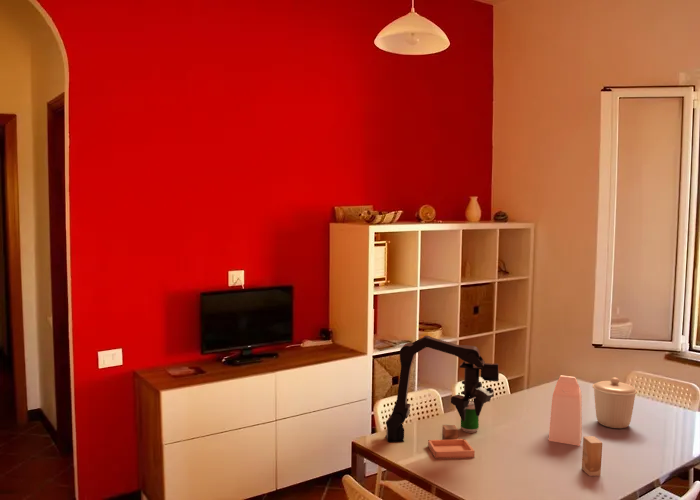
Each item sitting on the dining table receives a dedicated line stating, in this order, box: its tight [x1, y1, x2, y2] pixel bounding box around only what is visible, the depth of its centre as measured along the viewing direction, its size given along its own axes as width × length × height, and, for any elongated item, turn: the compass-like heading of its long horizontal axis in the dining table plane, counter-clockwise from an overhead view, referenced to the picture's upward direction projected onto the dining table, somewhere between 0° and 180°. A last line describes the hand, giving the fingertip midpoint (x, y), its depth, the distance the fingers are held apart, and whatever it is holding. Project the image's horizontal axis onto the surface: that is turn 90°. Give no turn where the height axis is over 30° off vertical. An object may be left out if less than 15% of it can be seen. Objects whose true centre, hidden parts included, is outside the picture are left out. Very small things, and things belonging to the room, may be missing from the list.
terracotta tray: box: [427, 438, 476, 460], centre depth 231 cm, size 15×12×2 cm
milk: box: [548, 375, 583, 447], centre depth 245 cm, size 12×12×26 cm
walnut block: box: [441, 424, 459, 440], centre depth 241 cm, size 5×5×6 cm
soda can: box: [460, 400, 480, 434], centre depth 254 cm, size 8×8×12 cm
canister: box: [592, 376, 638, 429], centre depth 263 cm, size 18×18×21 cm
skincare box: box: [581, 435, 603, 477], centre depth 213 cm, size 6×4×12 cm
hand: (470, 418), depth 233 cm, fingers open, 9 cm apart
